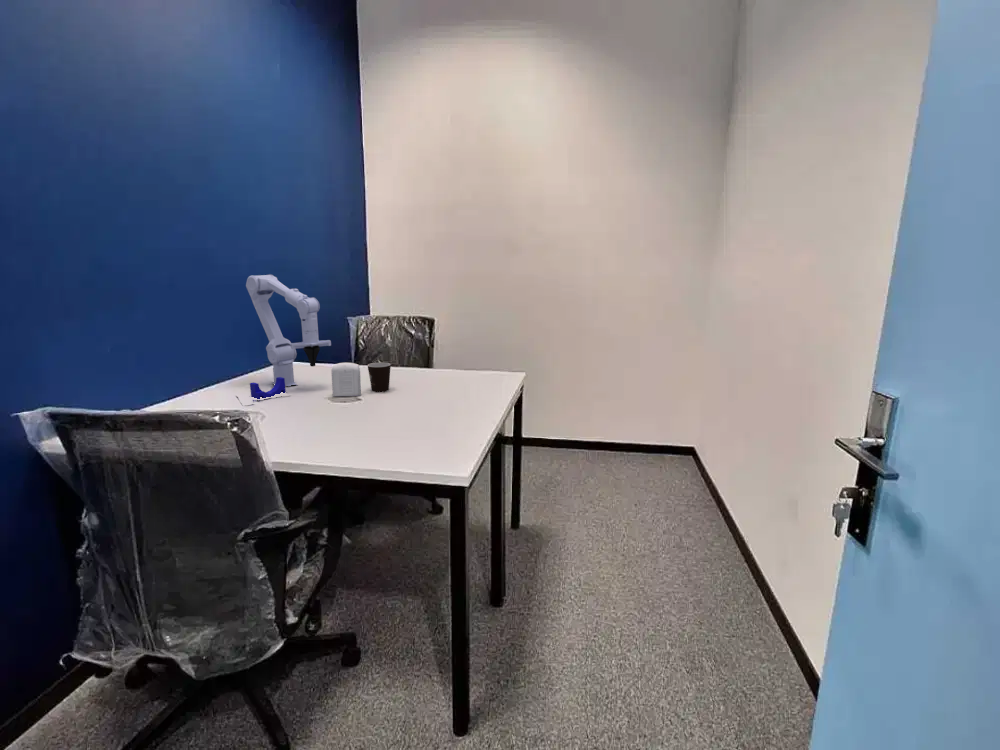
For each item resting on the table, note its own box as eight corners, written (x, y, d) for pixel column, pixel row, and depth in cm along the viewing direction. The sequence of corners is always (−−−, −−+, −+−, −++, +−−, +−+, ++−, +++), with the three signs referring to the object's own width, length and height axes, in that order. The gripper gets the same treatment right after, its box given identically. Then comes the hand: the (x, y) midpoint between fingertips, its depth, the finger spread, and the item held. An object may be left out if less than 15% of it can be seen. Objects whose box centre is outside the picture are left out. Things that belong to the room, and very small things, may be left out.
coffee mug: (389, 393, 211) (388, 367, 209) (366, 393, 212) (365, 367, 209) (395, 385, 223) (394, 361, 221) (373, 385, 223) (372, 360, 221)
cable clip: (258, 401, 200) (256, 384, 199) (251, 399, 202) (249, 383, 201) (288, 394, 209) (286, 378, 208) (281, 392, 212) (279, 377, 211)
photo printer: (362, 393, 211) (360, 361, 208) (360, 396, 207) (358, 363, 204) (333, 394, 210) (331, 362, 207) (332, 397, 206) (329, 364, 203)
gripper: (292, 333, 204) (295, 369, 207) (332, 330, 212) (334, 365, 215) (288, 331, 210) (291, 366, 213) (327, 328, 218) (329, 362, 221)
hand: (312, 365), depth 214 cm, fingers closed
